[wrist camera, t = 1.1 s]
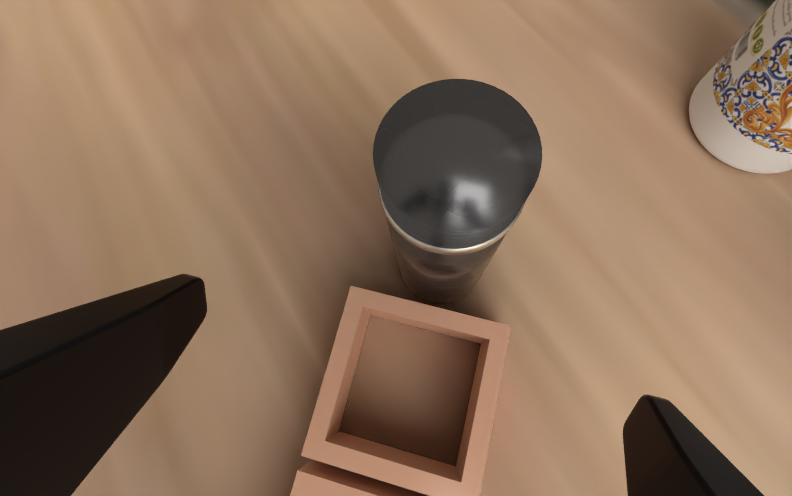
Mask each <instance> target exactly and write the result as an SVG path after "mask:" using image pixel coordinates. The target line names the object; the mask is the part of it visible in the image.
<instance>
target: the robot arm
mask: <svg viewBox="0 0 792 496" xmlns="http://www.w3.org/2000/svg"><path fill="white" fill-rule="evenodd" d="M206 313H207V303H206V294H205V285H204V282H203V280H202V279H201V278H199V277H196V276H192V275H188V274H180V275H177V276H174V277H171V278H167V279H164V280H161V281H158V282H154V283H151V284H148V285H145V286H142V287H138V288H135V289H132V290H129V291H125V292H122V293H119V294H116V295H112V296H109V297H106V298H103V299H99V300H96V301H93V302H90V303H87V304H83V305H80V306H77V307H74V308H70V309H67V310H64V311H61V312H57V313H54V314H51V315H48V316H44V317H41V318H38V319H35V320H31V321H28V322H25V323H22V324H19V325H15V326H12V327H9V328H6V329H2V330H0V496H71V495H72V493H73V492H74V491H75V490H76V488H77V487H78V486H79V485H80V484H81V482H82V481H83V480H84V479H85V477H86V476H87V475H88V474H89V472H90V471H91V470H92V469H93V467H94V466H95V465H96V464H97V462H98V461H99V460H100V459H101V458H102V456H103V455H104V454H105V453H106V451H107V450H108V449H109V448H110V446H111V445H112V444H113V443H114V441H115V440H116V439H117V438H118V436H119V435H120V434H121V433H122V432H123V430H124V429H125V428H126V427H127V425H128V424H129V423H130V422H131V420H132V419H133V418H134V417H135V415H136V414H137V413H138V412H139V410H140V409H141V408H142V407H143V406H144V404H145V403H146V402H147V401H148V399H149V398H150V397H151V396H152V394H153V393H154V392H155V391H156V389H157V388H158V387H159V386H160V384H161V383H162V382H163V380H164V379H165V378H166V376H167V375H168V374H169V372H170V371H171V369H172V368H173V366H174V365H175V363H176V362H177V360H178V359H179V357H180V356H181V354H182V352H183V351H184V349H185V348H186V346H187V345H188V343H189V342H190V340H191V339H192V337H193V336H194V334H195V333H196V331H197V329H198V328H199V326H200V325H201V323H202V322H203V320H204V318H205V316H206ZM623 443H624V455H625V467H626V479H627V491H628V496H764V495H763V494H762V493H761V492H760V491H759V490H758V489H757V488H756V487H755V486H754V485H753V484H752V483H751V482H750V481H749V480H748V479H747V478H746V477H745V476H744V475H743V474H742V473H741V472H740V471H739V470H738V469H737V468H736V467H735V466H734V465H733V464H732V463H731V462H730V461H729V460H728V459H727V458H726V457H725V456H724V455H723V454H722V453H721V452H720V451H719V450H718V449H717V448H716V447H715V446H714V445H713V444H712V443H711V442H710V441H709V440H708V439H707V438H706V437H705V436H704V435H703V434H702V433H701V432H700V431H699V430H698V429H697V428H696V427H695V426H694V425H693V424H692V423H691V422H690V421H689V420H688V419H687V418H686V417H685V416H684V415H683V414H682V413H681V412H680V411H679V410H678V409H677V408H676V407H675V406H674V405H673V404H672V403H671V402H670V401H668V400H666V399H663V398H659V397H655V396H652V395H643V396H642V397H641V398H640V399H639V400H638V402H637V404H636V405H635V407H634V408H633V410H632V412H631V413H630V415H629V417H628V418H627V420H626V422H625V424H624V428H623Z"/></svg>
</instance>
